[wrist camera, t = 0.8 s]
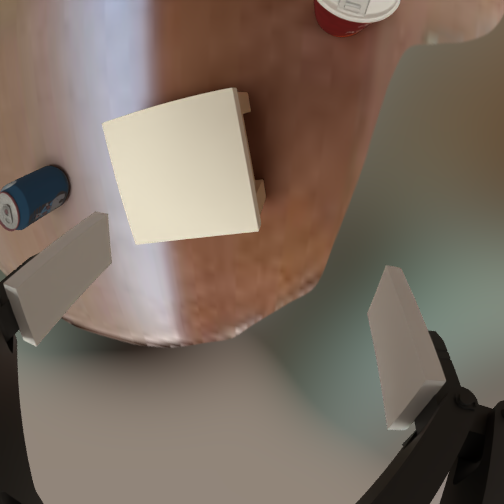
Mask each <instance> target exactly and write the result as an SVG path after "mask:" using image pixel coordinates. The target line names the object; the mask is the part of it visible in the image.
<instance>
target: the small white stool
mask: <svg viewBox="0 0 504 504" xmlns="http://www.w3.org/2000/svg"><path fill="white" fill-rule="evenodd" d="M248 112H251V108H250V102H249V97H248V92H237V88H227V89H222V90H217V91H213V92H208V93H204V94H200V95H195V96H191V97H187V98H183V99H179V100H175V101H172V102H168V103H164V104H161V105H157V106H154V107H150V108H147V109H144V110H140V111H137V112H134V113H131V114H128V115H125V116H122V117H119V118H116V119H113V120H110V121H107V122H104V123H102V126H103V130H104V134H105V139H106V143H107V147H108V151H109V155H110V159H111V163H112V166H113V170H114V174H115V177H116V181H117V185H118V188H119V192H120V195H121V199H122V202H123V205H124V209H125V212H126V215H127V218H128V222H129V225H130V228H131V231H132V234H133V237H134V240H135V243H136V245H138V244H146V243H155V242H163V241H172V240H181V239H190V238H200V237H209V236H218V235H228V234H238V233H247V232H257V231H259V229H260V226H261V220H260V214H261V211H262V208H263V205H264V202H265V199H266V193H265V187H264V181H263V179H261V180H255V178H254V173H253V167H252V161H251V156H250V150H249V145H248V139H247V134H246V129H245V123H244V118H243V114H244V113H248Z"/></svg>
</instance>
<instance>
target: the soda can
mask: <svg viewBox="0 0 504 504" xmlns="http://www.w3.org/2000/svg"><path fill="white" fill-rule="evenodd" d="M68 190H69V184H68V180H67V177H66V175H65V174H64V173H63V171H61V170H60V169H58V168H56V167H53V166H46V167H43V168H41V169H39V170H36V171H34V172H32V173H30V174H28V175H25V176H23V177H21V178H19V179H17V180H15V181H13V182H11V183H9V184H7V185H5V186H4V187H3V188H2V190H1V192H0V224H1V225H2V226H3V227H4V228H5V229H6V230H8V231H14V230H22V229H24V228H26V227H27V226H29V225H30V224H32V223H34V222H35V221H37V220H38V219H40V218H41V217H43V216H45V215H46V214H48V213H49V212H51V211H53V210H54V209H56V208H57V207H59V206H61V205H62V204H63V203H64V201H65V199H66V197H67V194H68Z"/></svg>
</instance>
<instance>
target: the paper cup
mask: <svg viewBox="0 0 504 504" xmlns="http://www.w3.org/2000/svg"><path fill="white" fill-rule="evenodd" d="M400 1H401V0H314V7H315V15H316V19H317V22H318V24H319V25H320V27H321V28H322V29H323V30H324V31H326V32H327V33H329V34H331V35H333V36H337V37H348V36H352V35H354V34H356V33H358V32H359V31H361V30H362V29H364V28H365V27H367V26H368V25H370V24H371V23H373V22H377V21H380V20H383V19H385V18H387V17H389V16H390V15H391V14H392V13H394V11H395V10H396V9H397V8H398V6H399V4H400Z"/></svg>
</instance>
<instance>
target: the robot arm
mask: <svg viewBox="0 0 504 504" xmlns="http://www.w3.org/2000/svg"><path fill="white" fill-rule="evenodd" d="M111 263H112V259H111V249H110V237H109V224H108V214H106V213H100V212H94V213H93V214H91V215H90V216H89V217H87V218H86V219H84V220H83V221H81V222H80V223H79V224H77V225H76V226H75V227H73V228H72V229H70V230H69V231H68V232H66V233H65V234H64V235H62V236H61V237H60V238H58V239H57V240H56V241H54V242H53V243H52V244H51V245H49V246H48V247H47V248H45V249H44V250H43V251H42V252H40V253H38V254H36V255H34V256H32V257H30V258H29V259H27V260H26V261H25V262H24V263H22V265H20V266H19V267H18V268H17V269H16V270H14V271H13V272H12V273H10V274H9V275H8V276H7V277H6V278H5V279H3V280H2V281H1V282H0V504H43V502H42V500H41V499H40V497H39V496H38V494H37V492H36V490H35V488H34V484H33V480H32V476H31V472H30V467H29V462H28V457H27V451H26V446H25V440H24V433H23V426H22V418H21V409H20V399H19V386H18V368H17V367H18V366H17V339H16V336H15V333H16V332H17V331H18V330H20V332H21V334H22V337H23V339H24V340H25V341H27V342H29V343H31V344H33V345H35V346H37V345H38V344H39V343H40V342H41V341H42V339H43V338H44V337H45V336H46V335H47V333H48V332H49V331H50V330H51V329H52V328H53V326H54V325H55V324H56V323H57V322H58V321H59V320H60V318H61V317H62V316H63V315H64V314H65V313H66V312H67V310H68V309H69V308H70V307H71V306H72V305H73V304H74V303H75V301H76V300H77V299H78V298H79V297H80V296H81V295H82V294H83V293H84V292H85V291H86V289H87V288H88V287H89V286H90V285H91V284H92V283H93V282H94V281H95V280H96V279H97V278H98V277H99V276H100V275H101V273H102V272H103V271H104V270H105V269H106V268H107V267H108V266H109V265H110V264H111ZM367 315H368V320H369V324H370V329H371V334H372V338H373V344H374V348H375V354H376V359H377V365H378V371H379V376H380V382H381V388H382V395H383V401H384V408H385V415H386V422H387V429H388V430H406V429H407V428H408V427H409V426H410V425H411V424H412V423H413V422H414V421H415V426H416V430H415V431H414V433H413V434H412V435H411V436H410V437H409V438H408V439H407V440H406V441H405V442H404V443H403V444H402V445H403V448H402V449H401V450H400V451H399V453H398V454H397V456H396V457H395V458H394V459H393V461H392V462H391V463H390V464H389V466H388V467H387V468H386V470H385V471H384V472H383V473H382V474H381V476H380V477H379V478H378V479H377V480H376V481H375V483H374V484H373V485H372V486H371V487H370V488H369V490H368V491H367V492H366V493H365V494H364V495H363V496H362V497H361V498H360V500H359V501H358V502H357V503H356V504H430V502H431V501H432V499H433V498H434V496H435V495H436V493H437V491H438V489H439V488H440V486H441V485H442V483H443V481H444V479H445V477H446V476H447V474H448V472H449V474H448V478H447V481H446V485H445V488H444V491H443V494H442V498H441V501H440V504H504V401H500V402H499V403H498V404H497V405H496V406H495V407H494V408H493V409H491V408H488V407H485V406H482V405H479V404H478V402H477V399H476V397H475V396H474V394H473V393H472V392H471V391H469V390H468V389H466V388H464V387H461V386H460V383H459V380H458V377H457V374H456V372H455V369H454V366H453V364H452V361H451V360H450V356H449V353H448V352H447V349H446V346H445V343H444V341H443V340H442V338H441V337H440V336H439V335H438V334H437V333H436V332H435V331H428V329H427V327H426V324H425V322H424V320H423V317H422V315H421V313H420V310H419V308H418V306H417V303H416V301H415V298H414V296H413V294H412V291H411V289H410V287H409V285H408V282H407V280H406V278H405V276H404V274H403V271H402V269H401V268H398V267H393V266H387V265H386V267H385V269H384V272H383V275H382V277H381V280H380V283H379V285H378V288H377V290H376V293H375V295H374V298H373V301H372V303H371V305H370V308H369V310H368V313H367Z"/></svg>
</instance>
